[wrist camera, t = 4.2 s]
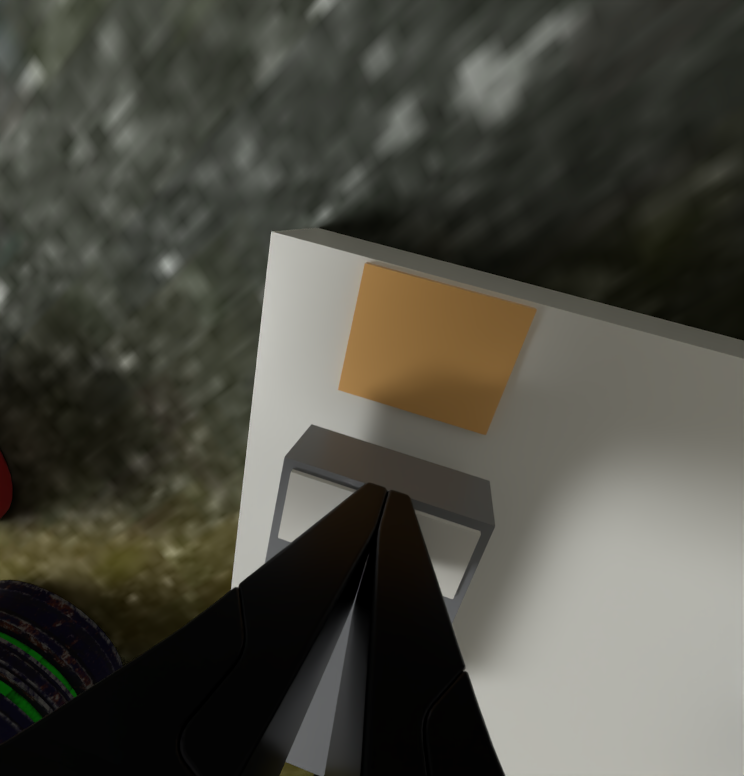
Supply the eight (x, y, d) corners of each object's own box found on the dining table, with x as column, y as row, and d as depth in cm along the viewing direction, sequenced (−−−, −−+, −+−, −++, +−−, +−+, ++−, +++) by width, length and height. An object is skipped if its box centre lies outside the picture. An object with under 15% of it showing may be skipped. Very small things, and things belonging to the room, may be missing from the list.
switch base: (723, 773, 16) (800, 942, 12) (258, 600, 18) (203, 701, 15) (1125, 441, 10) (1557, 591, 6) (317, 227, 12) (243, 234, 8)
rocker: (384, 734, 12) (374, 803, 10) (257, 683, 12) (229, 744, 11) (489, 480, 9) (496, 529, 7) (311, 424, 9) (282, 459, 8)
